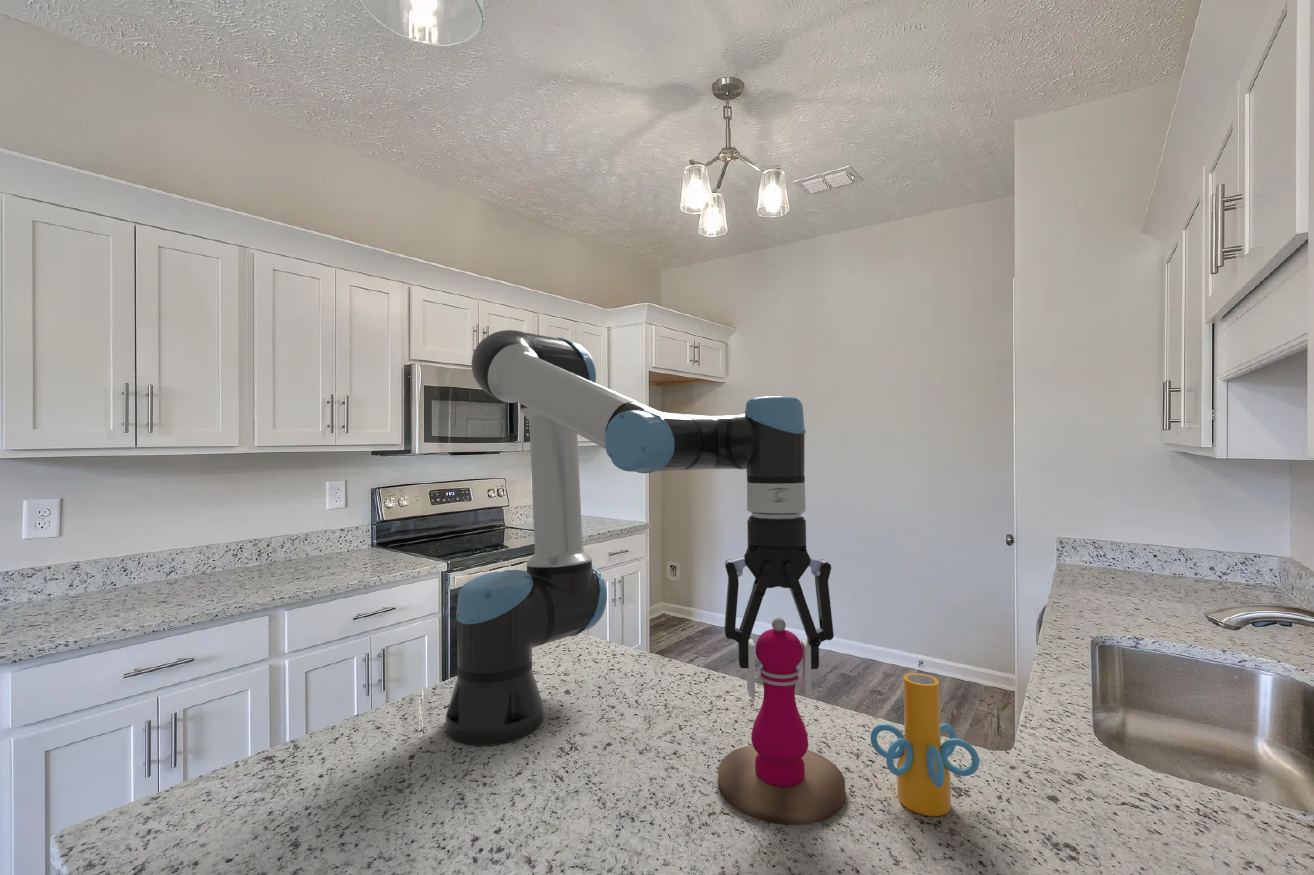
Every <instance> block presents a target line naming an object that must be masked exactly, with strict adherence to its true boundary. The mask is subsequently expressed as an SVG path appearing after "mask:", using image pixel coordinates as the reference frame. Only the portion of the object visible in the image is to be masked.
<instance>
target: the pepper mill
mask: <svg viewBox="0 0 1314 875" xmlns="http://www.w3.org/2000/svg"><path fill="white" fill-rule="evenodd" d="M771 626H772V628H771V629H768V630H765V631H764V632H762V633H761V634H760V635H759V637H758V638H757V641H756V645H755V655H756V658H757V660H758V661H759V662H760V664H761V665H760V666H759V671H760V673H759V678H760V680H761V681H762V682H763V698H762V704H761V706H760V709H759V711H758V712H757V715H756V717H755V720H754V722H753V726H752V728H751V745H753V747H754V749H755V750H756V752H757V753H758V754H757V755H756V758H755V772H756V774H757V776H758V777H759V778H760V779H761V780H762V781H764V782H766V783H768V784H771V785H774V786H780V787H789V786H795V785H797V784H799V783H801V782H802V781H803V779H804V776H805V764H804V761H803V759H802V757H803V756H804V755H805V753H806V752H807V750H809V749H808V748H809V738H808V737H809V736H808V732H807V730H806V725H805V723H804V721H803V719H802V716H801V714H800V712H799V709H798V707H797V706H798V705H797V704H796V684H797V683H798V682H799V681H800V677H799V673H800V670H799V668H797V666H798V665H799V664H801V659H802V655H803V651H802V645H801V639H799V638H798V636H797V635H796V634H795V633H793V632H792V631H790V630H787V629H786V626H787V625H786V622H785V620H784V619H783V618H781V617H776V618H774V619H772V622H771Z"/></svg>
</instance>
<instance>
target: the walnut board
mask: <svg viewBox="0 0 1314 875" xmlns="http://www.w3.org/2000/svg"><path fill="white" fill-rule="evenodd" d="M757 754H758V753H757V752H756V750H755V749H754V747H753V745H752V744H749V745H746V746H743V747H740V748H737V749H734V750H733V751H731V752H729V753H728V754H727V755H725V756H724V757H723V759H721V761H720V763H719V765H718V768H717V769H718V771H717V776H718V777H717V783H718V789H719V791H720V794H721V795H722V797H723V798H724V799H725V800H726V802H727V803H728V804H730V805H731V807H733V808H735V810H738V811H739V812H741V813H743V814H745V815H746V816H748V817H751V818H753V819H757V820H759V821H763V822H767V823H772V824H778V825H790V826H792V825H793V826H794V825H795V826H798V825H800V826H801V825H810V824H815V823H818V822H823V821H825V820H827V819H829V818H831V817H833V816H834V815H835V814H837V813H838V812H839V811H840V810H841V809H842V808H843V807H844V804H845V802H846V781H845V778H844V777H845V776H844V775H843V773H842V771H841V770H840V768H838V766H837V765H836V764H835V763H833V762H832V761H831V760H830V759H828V758H826V757H824V756H823V755H821V754H819V753H817V752H814V751H813V750H809V749H807V752H806V753H805V755H804V756H803V757H802V759H803V761H804V764H805V776H804V779H803V781H802V782H801V783H799V784H797V785H795V786H789V787H780V786H774V785H771V784H768V783H766V782H764V781H762V780H761V779H760V778H759V777H758V776H757V774H756V772H755V758H756V755H757Z"/></svg>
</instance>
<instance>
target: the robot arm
mask: <svg viewBox="0 0 1314 875" xmlns="http://www.w3.org/2000/svg"><path fill="white" fill-rule="evenodd" d="M471 370H472V376H473V378H474V379H475V383H477V385H478V386H479V387H480V388H481V389H482V390H483V391H484V392H485V393H486V394H489V395H490V396H491V397H494V398H496V399H498V400H499V401H501V402H505V403H508V404H509V403H510V404H511V403H512V404H513V403H514V404H515V403H518V404H520V405H519V408H520V409H519V411H520V413H521V414H522V415H523V416H524V417H525V418H526V419H527V420H528V422H529V423H528V424H529V440H530V441H529V444H530V445H529V446H530V466H531V468H530V470H531V491H532V492H531V494H532V515H533V517H532V519H533V520H532V521H533V537H534V539H533V540H534V542H533V543H534V554H533V555H532V556H531V557H530V559H528V561H527V562H526V571H525V570H522V569H521V570H520V569H508V570H507V569H505V570H502V571H493V572H489V573H484V574H482V575H479V576H476V577H474V578H471V579H470V580H468V581H467V582H465V584H463V586H461V588H460V590H459V591H458V596H457V605H456V611H455V617H456V621H457V622H456V623H457V625H456V626H457V628H456V630H457V631H456V632H457V633H456V635H457V637H456V638H457V640H456V642H457V647H456V648H457V654H456V656H457V658H456V659H457V660H456V661H457V664H456V665H457V674H456V675H457V678H456V683H455V685H454V689H453V691H452V695H451V696H450V697H451V698H450V701H449V703H448V704H449V705H448V706H447V709H446V710H447V711H446V713H445V714H446V715H445V733H446V734H445V735H446V736H447V737H448V738H449V739H451V740H452V741H454V742H456V743H459V744H463V745H469V746H491V745H493V746H494V745H499V744H504V743H509V742H513V741H515V740H519V739H521V738H523V737H526V736H528V735H529V734H531V733H533V732H534V731H536V730H537V729H538V728H539V727H541V725H542V724H543V720H544V704H543V699H542V697H541V693H540V691H539V688H538V684H537V682H536V678H535V676H534V672H533V648H536V647H540V646H542V645H543V646H544V645H546V644H549V643H551V642H552V643H553V642H555V641H559V640H561V639H565V638H567V637H568V638H569V637H570V638H571V637H574V636H578V635H580V634H582V633H583V632H585V631H588V630H590V629H592V628H593V627H594V626H596V625H597V623H598V622H599V621H601V618H602V617H603V614H604V613H605V610H606V607H607V602H608V601H607V600H608V591H607V589H608V588H607V585H606V581H605V579H604V578H602V573H601V572H600V571H599V569H597V568H596V567H594V566H593V559H592V557H591V556H590V555H589V554H588V553H587V552H586V551H585V550H584V547H583V545H584V543H583V524H582V505H581V503H582V502H581V485H580V484H581V482H580V461H579V460H580V459H579V442H578V441H579V439H578V438H579V437H578V435H579V436H581V437H582V438H585V439H586V440H588V441H590V442H592V443H594V444H595V445H598V446H599V447H601V448H603V449H605V452H606V455H607V456H608V457H609V458H610V460H611V462H612V464H613V465H614V466H615V467H616V468H618V469H619V470H621V471H625V472H628V473H629V472H635V473H639V474H650V473H657V472H670V471H671V472H672V471H689V470H690V471H694V470H746V511H748V513H750V514H751V515H750V516H749V517H747V519H746V520H747V522H746V523H747V525H746V527H747V528H746V529H747V548H746V550H745V551H746V552H745V553H744V555H743V557H741V558H737V559H733V560H732V559H726V560H725V562H724V567H725V569H726V574H727V577H728V578H727V589H726V600H725V602H726V604H725V617H724V627H723V628H724V629H723V630H724V634H725V637H726V639H728V640H733V641H736V642H737V644H738V648H737V649H738V652H737V653H738V655H737V656H738V664H739V667H740V669H746V678H747V680H746V684H747V685H746V686H747V687H746V689H747V692H748V693H747V694H748V697H750V698H752V697H753V698H755V697H756V668H755V667H756V665H755V664H756V662H755V661H756V660H755V657H756V656H755V655H756V645H755V643H754V640H753V638H751V635H752V632H753V629H754V626H755V623H756V619H757V617H758V614H759V610H760V608H761V604H762V602H763V600H764V599H763V598H764V596H765V594H766V591H767V589H773V588H778V587H780V588H783V589H789V590H790V593H791V596H792V599H793V602H794V605H795V608H796V610H797V612H798V615H799V618H800V621H801V624H802V626H803V629H804V632H805V635H806V638H805V639H800V642H801V645H802V651H803V655H802V659H801V662H800V665H801V666H800V667H801V669H800V671H801V674H800V675H801V677H800V679H801V691H802V693H803V694H804V697H805V698H806V699H810V698H811V699H812V670H818V669H819V666H820V646H821V644H822V642H824V641H831V640H833V638H834V637H835V635H834V628H833V627H834V626H833V625H834V624H833V617H832V607H831V596H830V589H829V588H830V586H829V578H830V574H831V570H832V565H831V564H830V563H829V562H828V561H827V560H825V559H815V558H813V557H811V556H810V554H809V553H808V550H807V520H806V518H805V517H804V516H802V514H803V513H805V512H806V507H807V506H806V482H805V481H806V477H805V435H806V428H805V420H804V408H803V407H804V406H803V403H802V401H801V400H799V399H798V398H797V397H793V396H782V395H781V396H780V395H779V396H772V395H771V396H758V397H753V398H750V399H748V400H747V401H746V403H745V410H744V413H742V414H737V415H701V414H700V415H699V414H686V413H685V414H684V413H674V412H664V411H660V410H657V409H655V408H652V407H651V406H648V405H646V404H644V403H640V402H639V401H637V400H635V399H632V398H630V397H627V396H625V395H623V394H621V393H619V392H617V391H614V390H612V389H610V388H607V387H605V386H603V385H601V384H598V383H597V370H596V366H595V362H594V359H593V357H592V356H591V354H590V352H589V351H588V350H587V349H586V348H585V347H584V346H583V345H581V344H579V343H578V342H574V341H571V340H568V339H565V338H563V337H553V336H545V335H542V334H541V335H540V334H536V333H535V334H534V333H529V332H523V331H520V330H514V329H513V330H512V329H505V330H504V329H503V330H500V331H496V332H492V333H490V334H489V335H487V336H486V337H484V338H483V339H482V340H481V341H480V342H479V343H478V344H477V345H476V347H475V349H474V351H473V355H472V357H471ZM745 567H747V568H748V570H749V571H750V573H751V574H752V575H753V576H754V581H753V584H752V589H751V592H750V594H749V597H748V598H749V599H748V600H747V601H748V602H747V604H746V607H745V611H744V614H743V618H742V621H741V623H740V626H739V628H737V627H736V623H737V609H738V598H739V597H738V596H739V582H740V581H739V578H740V577H741V576H742V575H743V570H744V568H745ZM808 568H810V569H811V570H810V571H811V574H812V575H813V576H814V583H815V584H814V585H815V594H816V604H817V614H818V622H819V628H816V626H815V623H814V621H813V617H812V615H811V611H810V610H809V606H808V604H807V601H806V598H805V596H804V592H803V589H802V585H801V582H800V581H799V580H800V579H801V578H802V576H803V575H804V574H805V572H806V570H807V569H808Z"/></svg>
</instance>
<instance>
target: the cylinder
mask: <svg viewBox="0 0 1314 875" xmlns="http://www.w3.org/2000/svg"><path fill="white" fill-rule="evenodd" d="M940 704H941V702H940V680H939V679H938V678H937V677H935V676H933V675H930V674H925V673H917V672H912V673H911V672H910V673H906V674H904V675H903V705H904V706H903V710H904V711H903V712H904V714H903V715H904V718H903V719H904V734H903V732H902V731H901V730H900V729H899V728H898V727H896V726H894V725H893V724H890V723H880V724H877V725H875V726H874V727H873V729H872V730H871V733H870V744H871V745H872V748H873V749H874V751H875V752H876V753H877V754H878V755H880V757H883V758H885V760H886V766H887V768H888V770H889V772H890V773H891V774H892V775H893V776H896V780H897V781H896V783H897V784H896V786H897V787H896V788H897V790H896V792H897V798H898V800H899V802H900V804H901V805H903V807H905V808H906V809H908V810H910V811H912V812H913V813H916V814H919V815H923V816H926V817H927V816H928V817H940V816H941V817H942V816H944V815H947V814H948V813H949V812H950V810H951V808H952V798H951V797H952V795H951V794H952V792H951V791H952V790H951V773H952V774H954V775H956V776H960V777H970V776H972V775H973V774H976V773H977V771H978V769H979V767H980V757H979V754H978V752H977V750H976V749H975V747H974V746H973V745H971V744H970V743H969V742H968V741H965V740H964V739H961V738H957V733H956V730H955V728H954V727H953V726H952V725H951V724H949V723H945V722H944V723H941V711H940V710H941V707H940ZM883 731H886V732H887V731H888V732H891V733H892V734H894V735H895V736H896V739H894V740H893V741H892V742H891V744H890V745H889V747H888V750H887V751H886V750H885V749H883V748H882V747H881V746H880V744H879V742H878V735H879V734H880V732H883ZM945 731H947V732H948V736H949V739H947V740H945V741H943V742H942V741H941V735H942V733H944V732H945ZM941 742H942V744H941ZM956 746H957V747H960V748H963V749H964V750H966V751H967V752H968V753H969V755H970V757H971V763H970V765H969V766H967V767H966V768H961V767H957V766H954V765H953V764H952V763H951V762H950V761H949V759H948V758H949V757H950V756H952V754H953V753H954V751H955V749H956ZM896 759H898V761H897V763H896V767H895V764H894V760H896ZM950 772H951V773H950Z"/></svg>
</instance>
